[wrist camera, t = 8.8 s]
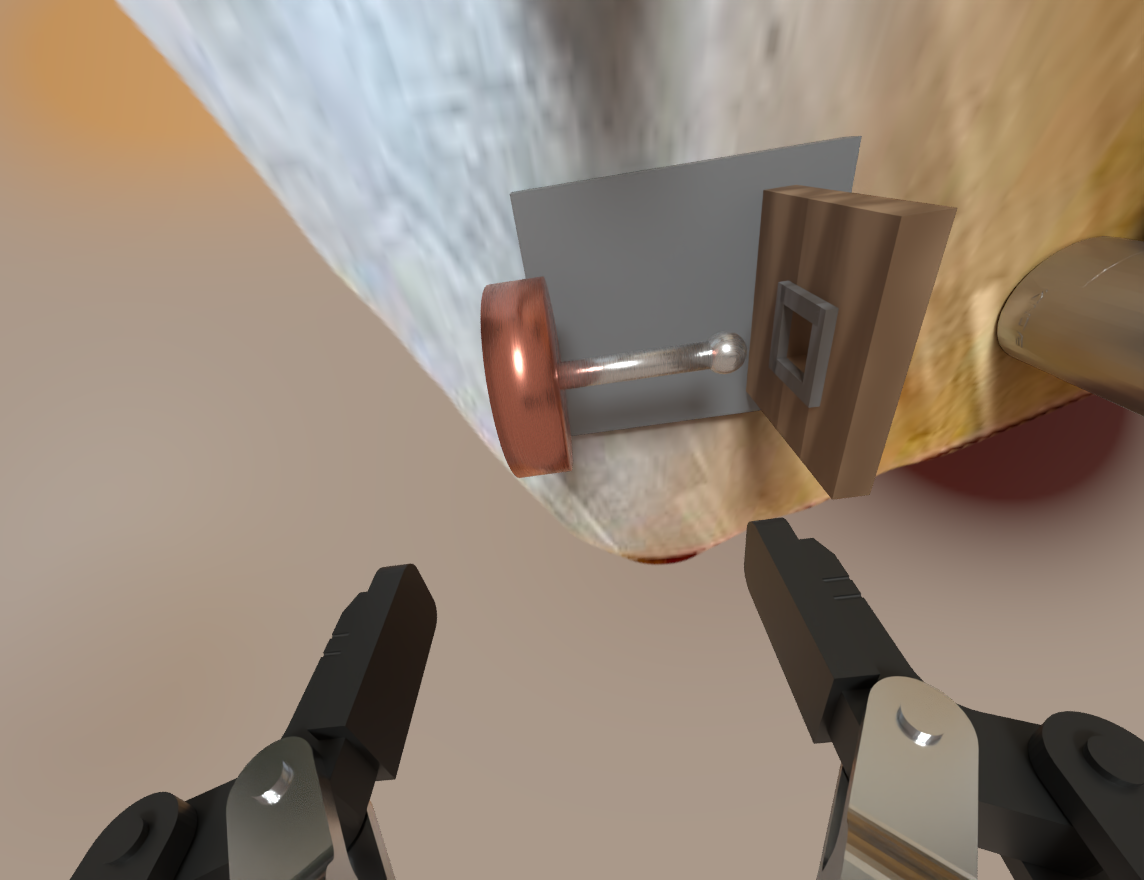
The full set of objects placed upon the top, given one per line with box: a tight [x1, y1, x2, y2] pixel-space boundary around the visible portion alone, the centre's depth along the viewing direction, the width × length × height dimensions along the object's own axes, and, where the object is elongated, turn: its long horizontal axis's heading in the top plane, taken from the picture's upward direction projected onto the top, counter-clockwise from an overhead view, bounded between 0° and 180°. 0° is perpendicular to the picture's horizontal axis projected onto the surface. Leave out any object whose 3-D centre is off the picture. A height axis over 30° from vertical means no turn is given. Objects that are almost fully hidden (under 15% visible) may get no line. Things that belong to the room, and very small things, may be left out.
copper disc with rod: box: [481, 276, 747, 478], centre depth 25 cm, size 14×11×11 cm
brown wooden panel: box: [746, 185, 957, 499], centre depth 26 cm, size 3×14×13 cm, turn 8°
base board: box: [510, 136, 862, 436], centre depth 32 cm, size 21×18×2 cm
